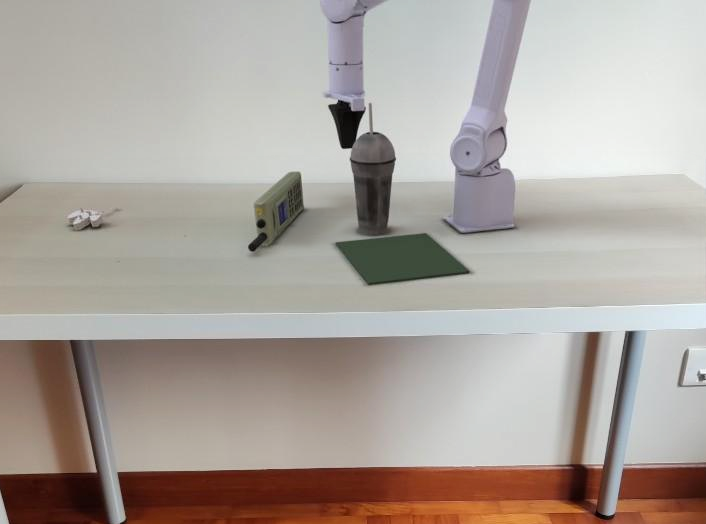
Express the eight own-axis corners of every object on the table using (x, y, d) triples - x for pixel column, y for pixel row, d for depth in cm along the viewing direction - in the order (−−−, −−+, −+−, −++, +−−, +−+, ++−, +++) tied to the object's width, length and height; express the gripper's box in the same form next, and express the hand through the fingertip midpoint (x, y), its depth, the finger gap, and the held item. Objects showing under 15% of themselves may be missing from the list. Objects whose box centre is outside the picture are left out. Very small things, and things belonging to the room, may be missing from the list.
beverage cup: (400, 226, 134) (402, 99, 124) (387, 240, 128) (388, 107, 118) (359, 222, 136) (357, 96, 126) (344, 235, 130) (341, 104, 120)
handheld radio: (307, 209, 143) (263, 256, 122) (289, 209, 144) (243, 256, 123) (303, 171, 140) (258, 212, 119) (285, 171, 141) (237, 212, 119)
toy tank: (63, 230, 134) (60, 215, 133) (85, 211, 144) (82, 196, 143) (97, 230, 134) (95, 214, 132) (117, 210, 144) (115, 195, 142)
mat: (425, 234, 130) (425, 233, 130) (469, 272, 115) (469, 270, 115) (335, 244, 127) (335, 242, 127) (368, 284, 112) (368, 282, 112)
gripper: (312, 58, 138) (315, 140, 145) (333, 70, 126) (335, 158, 133) (352, 56, 140) (353, 138, 146) (376, 67, 128) (376, 155, 134)
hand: (347, 147), depth 140 cm, fingers closed
